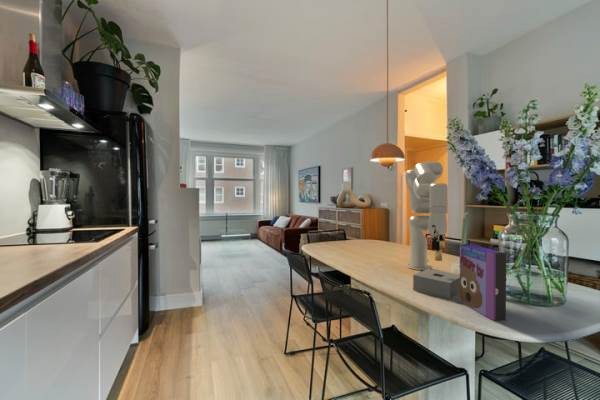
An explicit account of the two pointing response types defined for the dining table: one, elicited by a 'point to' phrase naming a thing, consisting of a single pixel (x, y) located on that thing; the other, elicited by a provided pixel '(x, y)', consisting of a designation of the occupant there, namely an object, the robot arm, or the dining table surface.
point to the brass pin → (439, 253)
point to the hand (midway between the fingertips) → (438, 248)
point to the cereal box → (483, 281)
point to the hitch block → (437, 283)
